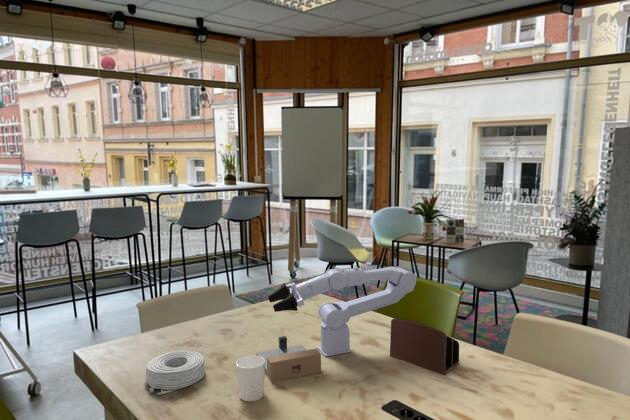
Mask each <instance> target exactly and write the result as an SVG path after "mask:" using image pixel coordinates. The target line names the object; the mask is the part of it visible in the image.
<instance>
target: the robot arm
mask: <svg viewBox="0 0 630 420" xmlns="http://www.w3.org/2000/svg"><path fill="white" fill-rule="evenodd" d="M386 280H387V282H386V283H387V285H386V287H385V289H384V290H381V291H377V292H374V293H372V294H371V293H370V294H368V295H365V296H362V297H358V298H355V299H351V300H349V301H345V302H343V301H336V302H335V301H334V302H329V301H328V302H324V303H322V304H321V305H320V306H319V309H318V315H319V318H321V322H320V345H317V346H316V349H317V350H318V351H319V352H320V353H321V355H323V356H324V357H331V356H335V355H341V354H342V355H343V354H346V353H347V354H348V353H351V349H350V348H351V345H350V341H351V340H350V338H351V335H350V329H349V326H348V324H347V323H349V321H350V318H352V317H357V316H359V315H362V314H365V313H368V312H371V311H375V310H378V309H381V308H384V307H387V306H390V305H393V304H396V303H398V302H399V301H400V300H402V298H404V297H405V296H406V295H407V294H408V293H412V292H413V291H414V290H415V289H414V288H415V286H416V284H417V276H416V275H415V274H414V272H411V271H408V270H407V269H404V268H403V267H401V266H387V267H383V268H382V267H381V268H376V269H368V270H363V269H362V268H361V267H358V266H353V268H347V269H344V268H339V270H337V269H335V268H331V269H330V268H328V269H327V270H325V272H324V274H321V275H319V276H315V277H312V278H310V279H307V280H305V281H303V282H300V283H298V284H295V282H292V283H289V284H286V283H285V282H283V284H282V285H281V286H280V287H279V288H278V289H276V290H275V291H274V292H272V293H271V294H269V295H268V296H267V298H268V300H269V303H274V302H276V303H274V304H273V305H272V308H273V310H274V313H277V312H285V311H295V312H296V311H298V307H299V308H301V307H303V306H305V303H304V301H307V300H309V299H312V298H314V297H317V296H318V295H321V294H324V293H326V292H328V291H331V290H338V291H340V290H342V289H344V287H353V286H362V285H363V284H364V283H365V282H367V281H386Z"/></svg>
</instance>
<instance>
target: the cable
mask: <svg viewBox="0 0 630 420" xmlns="http://www.w3.org/2000/svg"><path fill="white" fill-rule="evenodd" d="M205 373H206V365H205V358H204V356H203V355H202V354H201V353H199V352H197V351H194V350H190V349H181V350H179V349H178V350H173V351H169V352H166V353H163V354H160V355H158V356H156V357H154V358H152V359H151V360H150V361H149V362H148V363H147V364H146V368H145V373H144V379H145V381H146V382H147V384H148V385H149V386H150V389H149V392H150V393H151V394H154V393H155V390H160V391H159V392H157V393H156V395H157V396H161V395H162V396H163V395H165V394H169V393H171V392H172V393H173V392H175V391H177V390H179V389H182V388H186V387H189V386H192V385H194V384H196V383H198V382H199V381H200V380H201V379H203V378H204V376H205Z"/></svg>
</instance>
